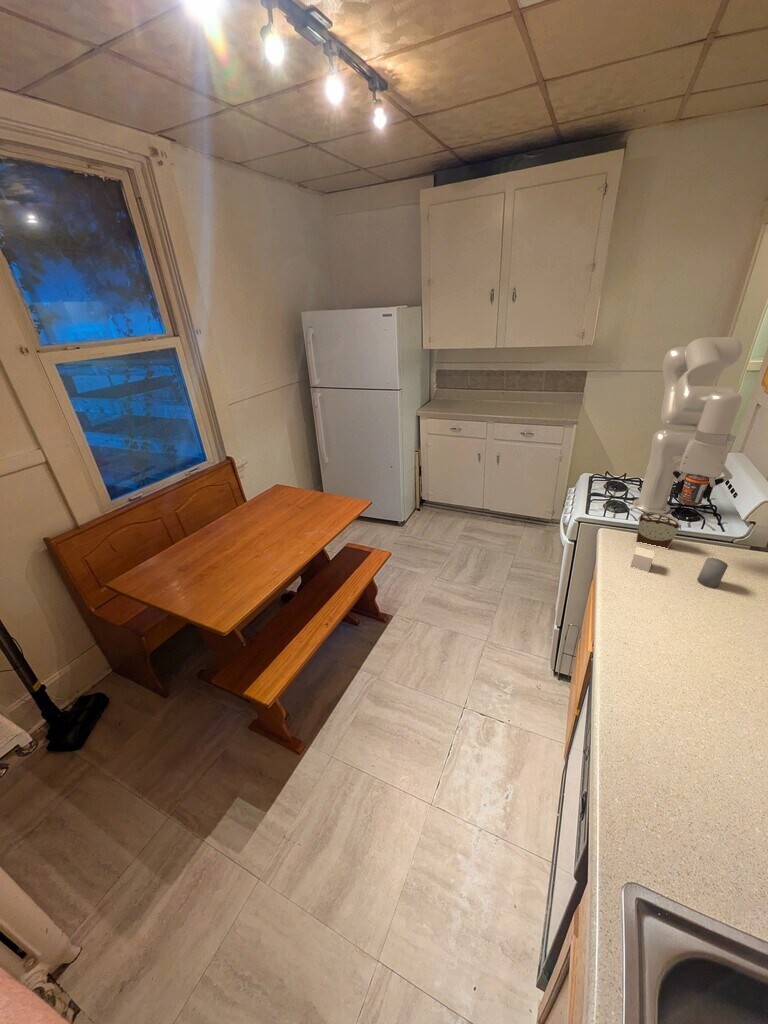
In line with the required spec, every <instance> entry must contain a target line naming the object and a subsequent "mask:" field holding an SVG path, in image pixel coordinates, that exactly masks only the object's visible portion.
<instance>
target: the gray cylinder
mask: <svg viewBox="0 0 768 1024" xmlns="http://www.w3.org/2000/svg"><path fill="white" fill-rule="evenodd" d="M728 567H729V565H728V563H726V561H723V560H722V559H719V558H714V557H709V558H706V559H705V561H704V563H703V565H702V568H701V570H700V572H699V575H698V577H697V582H698V583H699V584H700V585H702V586H704V587H706V588H712V589H715V588H718V587H719V585H720V583H721V581H722V579H723V577H724V575H725V573H726V571H727V569H728Z"/></svg>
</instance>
